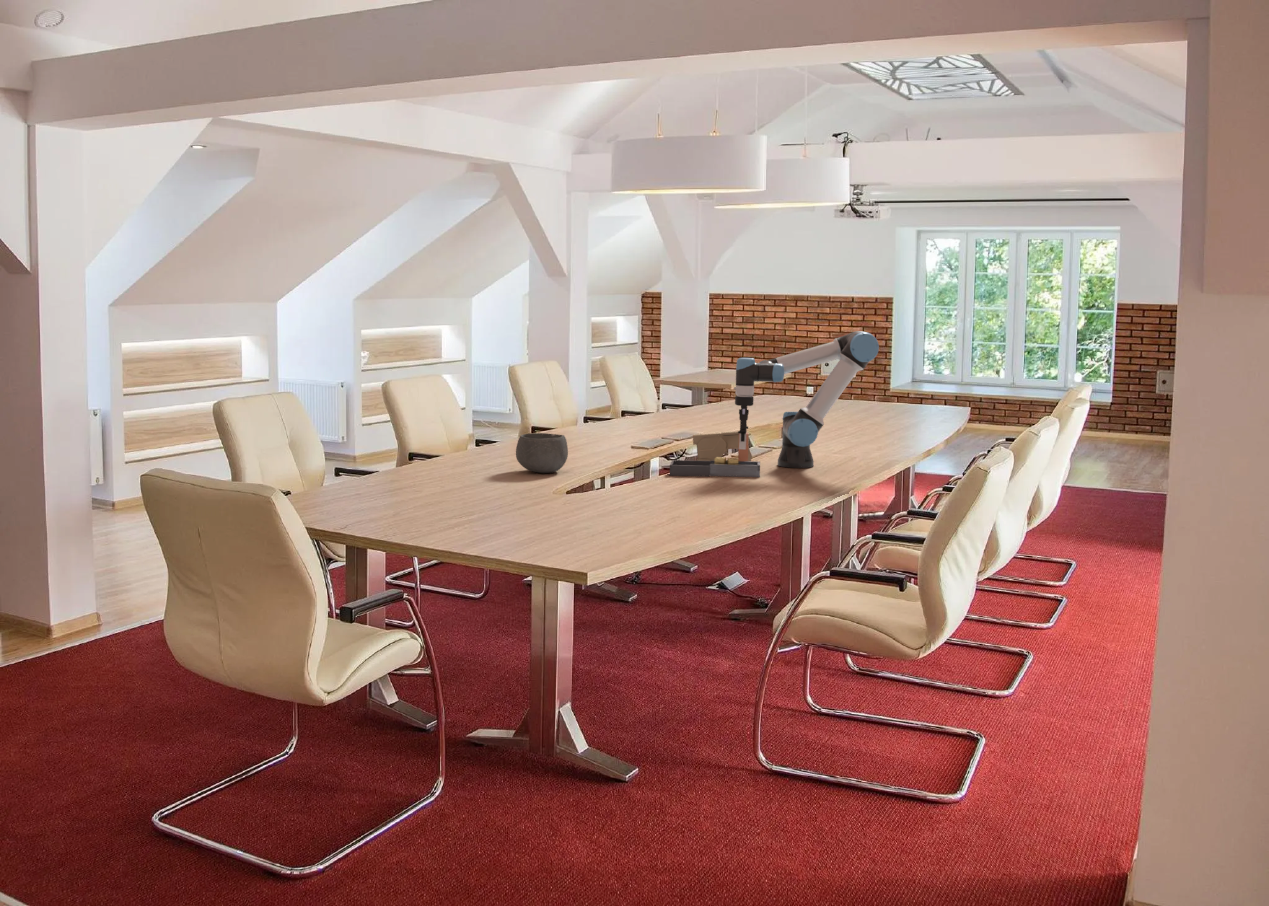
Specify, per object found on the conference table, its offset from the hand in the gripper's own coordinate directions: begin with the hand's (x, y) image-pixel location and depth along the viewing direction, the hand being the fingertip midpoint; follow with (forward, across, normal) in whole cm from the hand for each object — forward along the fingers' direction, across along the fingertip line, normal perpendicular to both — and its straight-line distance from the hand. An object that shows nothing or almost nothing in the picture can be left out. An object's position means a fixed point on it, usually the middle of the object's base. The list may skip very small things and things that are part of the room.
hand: (742, 447), depth 502 cm
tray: (+10, +11, -21) cm, 25 cm away
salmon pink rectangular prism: (+10, 0, 0) cm, 10 cm away
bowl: (+11, +17, -80) cm, 83 cm away
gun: (+10, -12, -9) cm, 18 cm away
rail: (+10, +11, -3) cm, 15 cm away
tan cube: (+7, +12, -4) cm, 14 cm away
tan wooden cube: (+7, +10, -9) cm, 15 cm away
